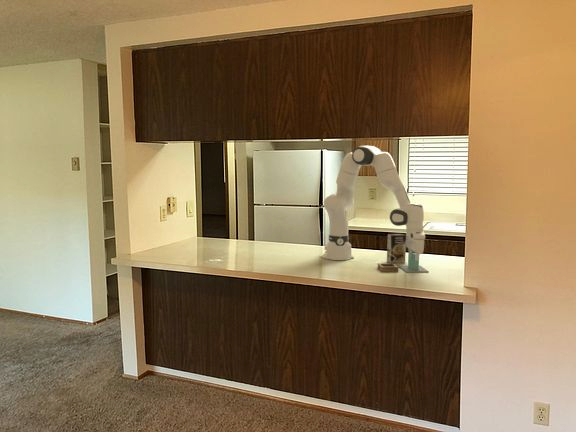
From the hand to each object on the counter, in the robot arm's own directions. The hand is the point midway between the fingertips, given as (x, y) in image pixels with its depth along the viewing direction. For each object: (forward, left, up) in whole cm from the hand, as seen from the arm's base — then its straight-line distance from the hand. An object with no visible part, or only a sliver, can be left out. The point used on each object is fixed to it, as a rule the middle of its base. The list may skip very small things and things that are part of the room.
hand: (413, 258), depth 265 cm
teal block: (0, 0, -6) cm, 6 cm away
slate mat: (0, 0, -6) cm, 6 cm away
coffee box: (-20, -4, -6) cm, 21 cm away
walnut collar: (0, -14, -6) cm, 15 cm away
